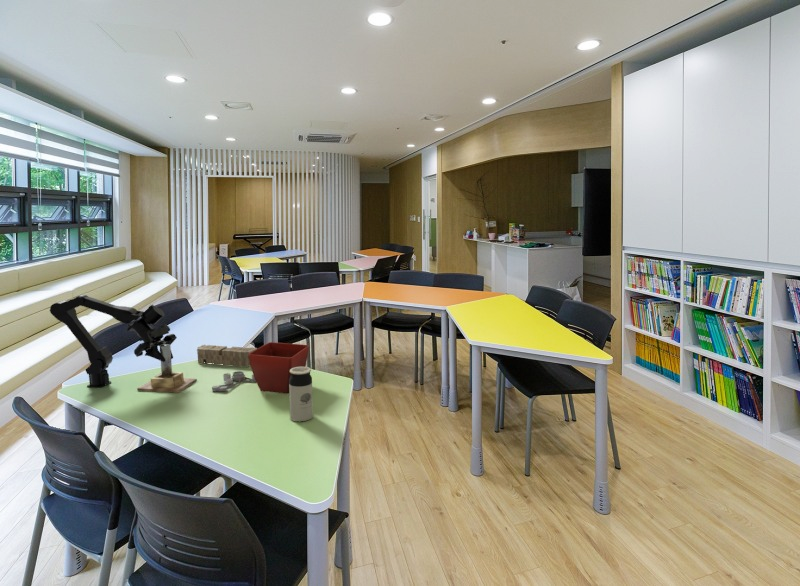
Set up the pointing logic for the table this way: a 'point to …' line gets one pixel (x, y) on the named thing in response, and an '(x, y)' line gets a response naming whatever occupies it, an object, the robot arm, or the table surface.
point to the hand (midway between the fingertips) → (168, 359)
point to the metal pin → (166, 360)
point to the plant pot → (276, 365)
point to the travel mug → (300, 394)
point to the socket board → (167, 383)
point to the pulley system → (229, 381)
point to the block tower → (224, 355)
